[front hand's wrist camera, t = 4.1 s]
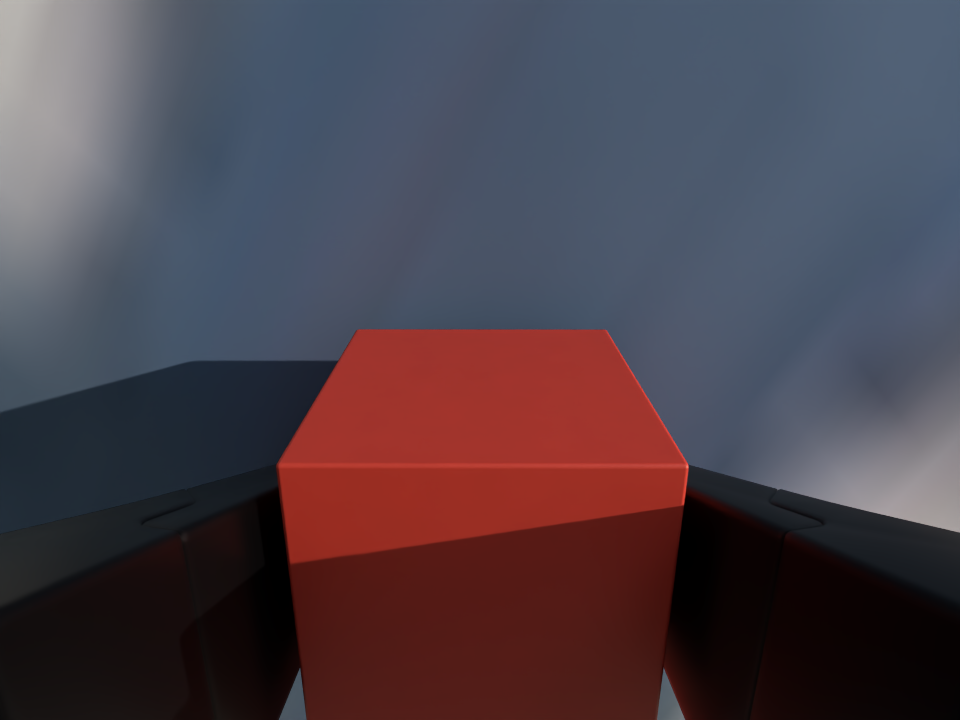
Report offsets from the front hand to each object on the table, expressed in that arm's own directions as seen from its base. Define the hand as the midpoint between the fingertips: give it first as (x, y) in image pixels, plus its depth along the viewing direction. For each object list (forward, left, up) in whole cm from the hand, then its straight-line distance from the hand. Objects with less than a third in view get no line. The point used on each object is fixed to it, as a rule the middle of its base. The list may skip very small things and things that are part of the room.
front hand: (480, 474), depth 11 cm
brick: (0, 0, -1) cm, 1 cm away
